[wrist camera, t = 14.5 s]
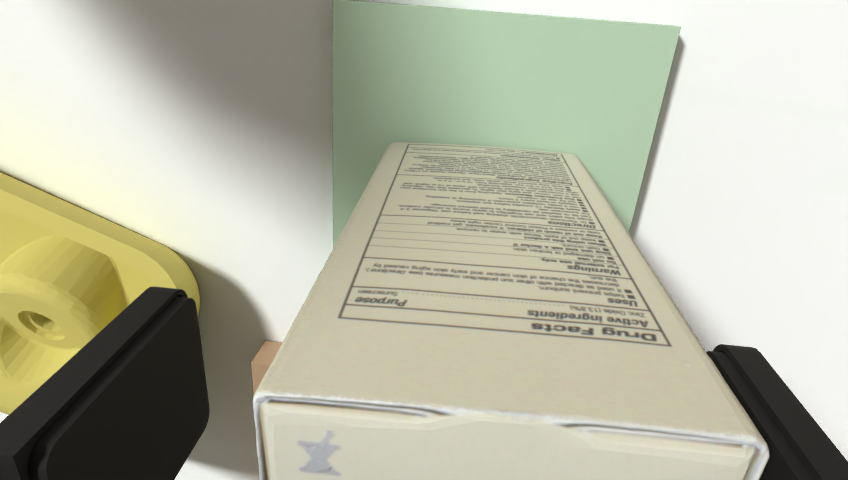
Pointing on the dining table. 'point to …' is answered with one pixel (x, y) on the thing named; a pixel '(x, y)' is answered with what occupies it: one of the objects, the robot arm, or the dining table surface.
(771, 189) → the dining table surface
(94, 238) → the plastic component
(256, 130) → the dining table surface
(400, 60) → the mat
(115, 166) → the dining table surface
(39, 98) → the dining table surface
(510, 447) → the skincare box
